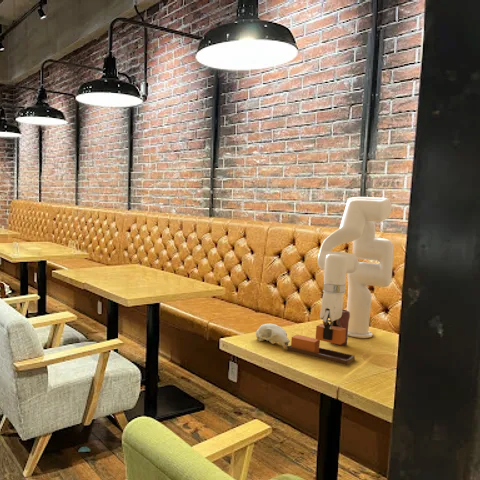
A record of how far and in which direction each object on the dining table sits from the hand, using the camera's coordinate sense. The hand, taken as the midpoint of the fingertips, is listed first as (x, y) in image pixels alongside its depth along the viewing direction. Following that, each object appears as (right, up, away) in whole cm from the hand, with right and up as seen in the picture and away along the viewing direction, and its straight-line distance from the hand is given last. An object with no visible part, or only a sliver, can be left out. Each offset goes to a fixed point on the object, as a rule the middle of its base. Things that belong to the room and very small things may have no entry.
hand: (330, 337), depth 176 cm
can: (+10, -7, +18) cm, 22 cm away
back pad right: (0, -1, 0) cm, 1 cm away
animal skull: (-17, -6, +15) cm, 24 cm away
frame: (-3, -8, +3) cm, 9 cm away
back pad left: (-7, -7, +7) cm, 12 cm away
